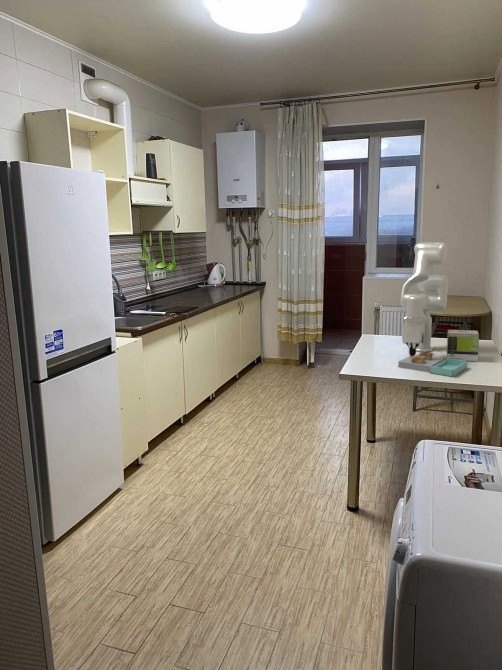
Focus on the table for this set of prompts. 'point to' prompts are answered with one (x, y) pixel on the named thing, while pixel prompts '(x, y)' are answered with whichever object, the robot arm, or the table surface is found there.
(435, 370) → the tray
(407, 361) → the board
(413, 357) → the wooden block
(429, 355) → the brown angular block
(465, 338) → the tea box
